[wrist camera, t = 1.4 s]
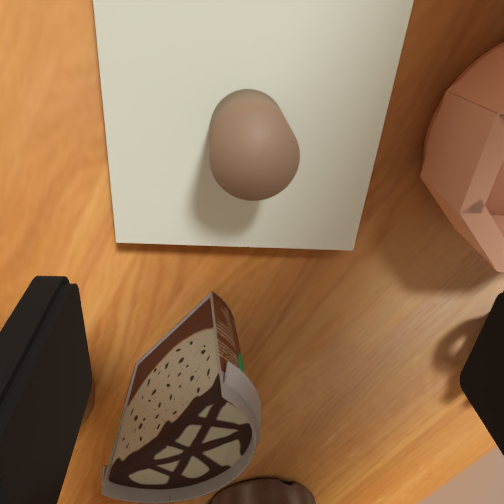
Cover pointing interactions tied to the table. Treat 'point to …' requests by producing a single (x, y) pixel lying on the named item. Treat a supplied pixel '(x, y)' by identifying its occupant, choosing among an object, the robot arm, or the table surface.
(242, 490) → the plant pot
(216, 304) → the food container
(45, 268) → the table surface
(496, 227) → the bowl
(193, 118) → the lid
